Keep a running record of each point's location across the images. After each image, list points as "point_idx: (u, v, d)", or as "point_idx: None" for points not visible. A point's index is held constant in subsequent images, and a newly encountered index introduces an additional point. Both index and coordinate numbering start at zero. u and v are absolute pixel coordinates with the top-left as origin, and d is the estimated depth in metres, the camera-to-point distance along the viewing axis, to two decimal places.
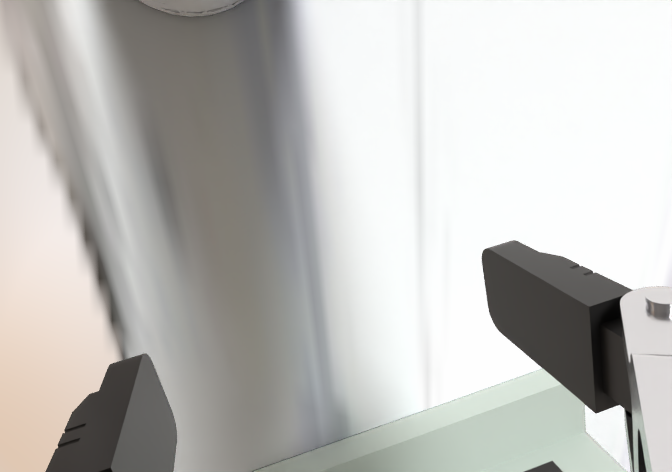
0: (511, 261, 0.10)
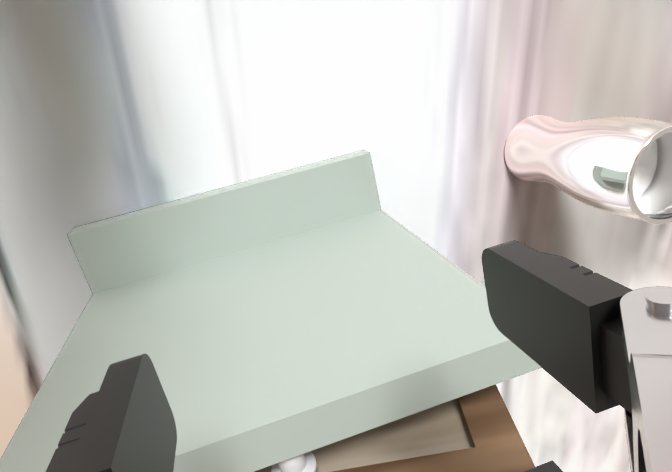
0: (511, 261, 0.10)
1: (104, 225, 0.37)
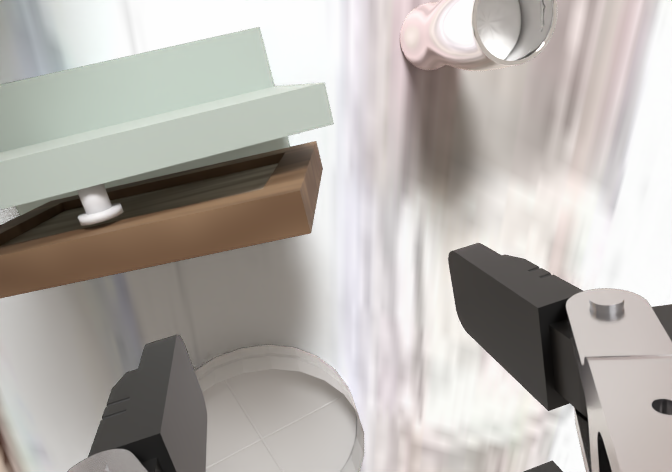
0: (473, 263, 0.11)
1: (0, 85, 0.40)
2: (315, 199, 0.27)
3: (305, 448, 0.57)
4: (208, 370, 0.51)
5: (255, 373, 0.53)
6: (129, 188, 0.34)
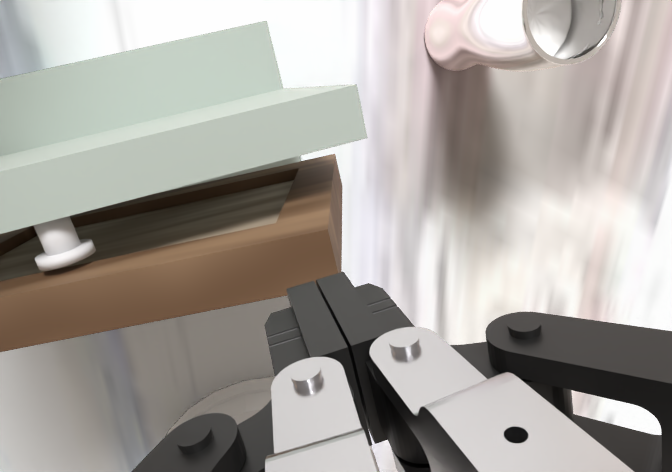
0: (324, 294, 0.11)
1: None
2: (340, 231, 0.21)
3: None
4: (207, 407, 0.45)
5: None
6: (112, 210, 0.28)
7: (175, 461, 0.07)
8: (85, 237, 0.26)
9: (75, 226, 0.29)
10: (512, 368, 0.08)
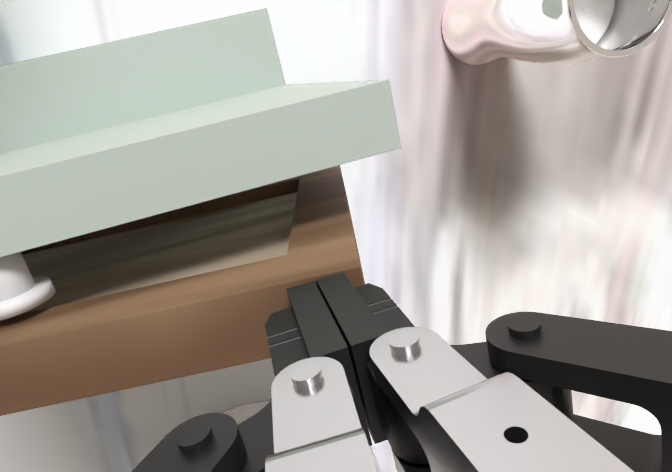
0: (324, 294, 0.11)
1: None
2: (359, 258, 0.18)
3: None
4: None
5: None
6: None
7: (175, 461, 0.07)
8: (46, 265, 0.22)
9: (35, 250, 0.24)
10: (512, 368, 0.08)
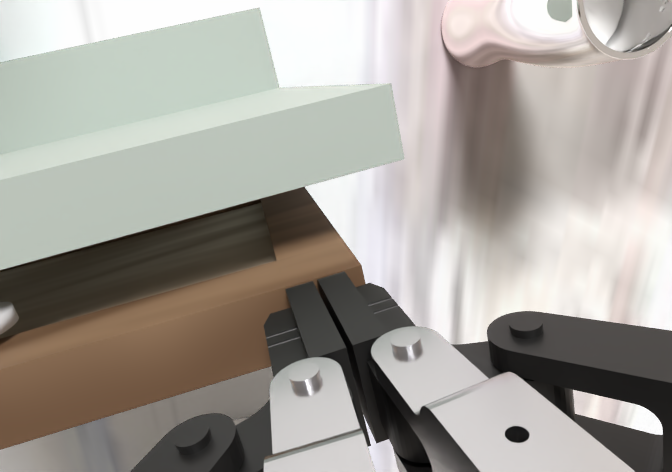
0: (326, 294, 0.11)
1: None
2: None
3: None
4: None
5: None
6: None
7: (173, 462, 0.07)
8: None
9: None
10: (514, 367, 0.08)
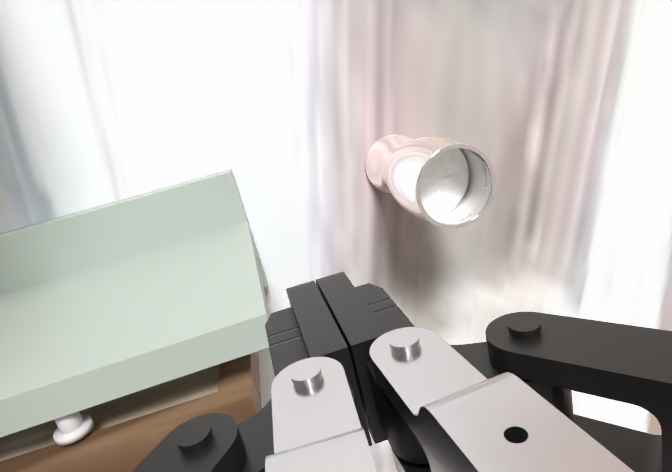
0: (324, 294, 0.11)
1: None
2: (258, 379, 0.32)
3: None
4: None
5: None
6: None
7: (175, 461, 0.07)
8: None
9: None
10: (512, 368, 0.08)
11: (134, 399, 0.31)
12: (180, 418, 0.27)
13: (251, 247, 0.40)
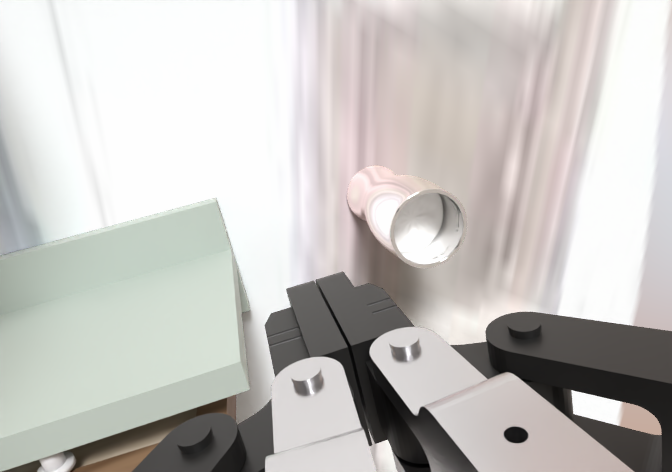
0: (324, 294, 0.11)
1: None
2: (234, 415, 0.34)
3: None
4: None
5: None
6: None
7: (175, 461, 0.07)
8: None
9: None
10: (512, 368, 0.08)
11: (115, 434, 0.33)
12: None
13: (232, 281, 0.41)
